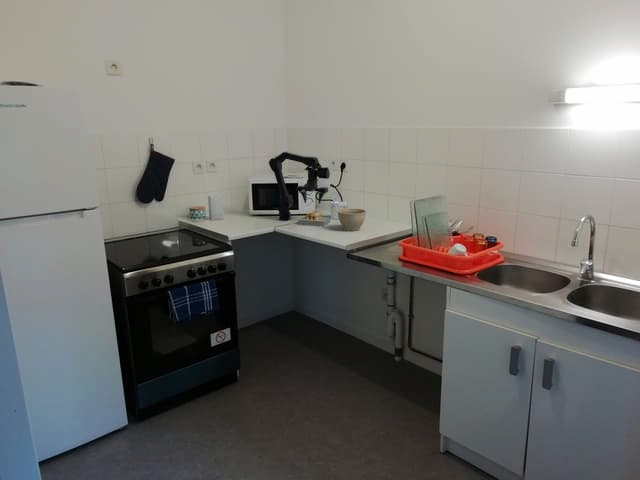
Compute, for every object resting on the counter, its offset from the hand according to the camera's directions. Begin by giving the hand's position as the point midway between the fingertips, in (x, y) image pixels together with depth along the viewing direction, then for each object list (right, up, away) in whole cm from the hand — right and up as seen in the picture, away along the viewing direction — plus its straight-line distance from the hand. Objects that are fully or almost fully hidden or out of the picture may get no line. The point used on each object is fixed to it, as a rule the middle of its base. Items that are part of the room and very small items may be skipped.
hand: (312, 203), depth 305 cm
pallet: (+1, -10, -2) cm, 10 cm away
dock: (+1, -12, -2) cm, 13 cm away
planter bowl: (+23, -17, -18) cm, 34 cm away
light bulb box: (+17, -9, +13) cm, 23 cm away
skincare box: (-61, -10, +12) cm, 63 cm away
